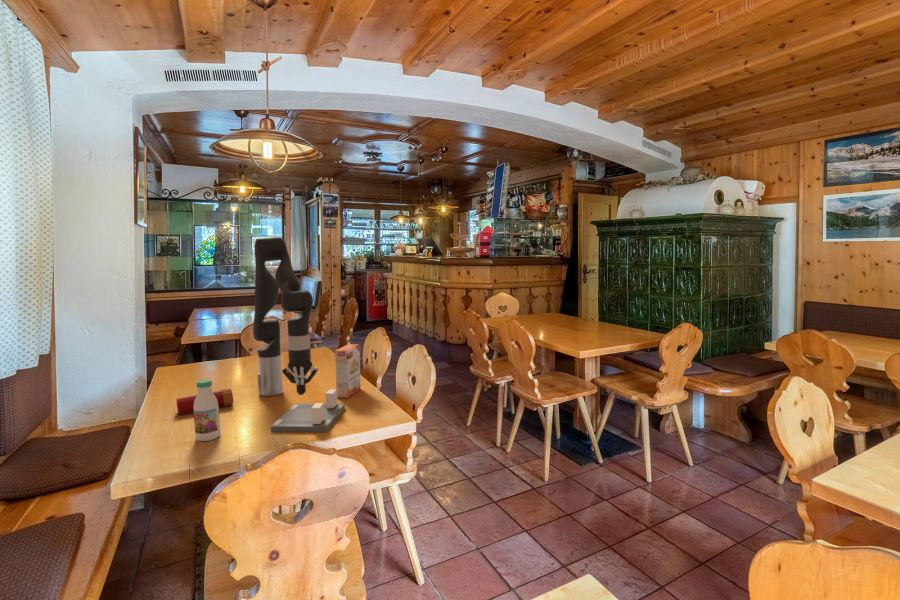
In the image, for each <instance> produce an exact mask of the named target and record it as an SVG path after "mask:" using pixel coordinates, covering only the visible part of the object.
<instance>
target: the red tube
mask: <svg viewBox="0 0 900 600" xmlns="http://www.w3.org/2000/svg"><path fill="white" fill-rule="evenodd" d="M212 392H213V394H214V395H215V397H216V399H217V401H218V407H219V408H221V406H222V407H224V406H226V407H230V406H229V405H231V406H233V405H234V395H233V390H232V388H224V389H221V390H218V391H212ZM196 396H197V394H196V395H190V396H189V395H188V396H185V397H180V398H176V407H177V414H181V415H184V414H183V413H186V414H190V413H189V412H191V413H194V401H195V399H196ZM232 404H233V405H232Z"/></svg>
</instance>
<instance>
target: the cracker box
mask: <svg viewBox="0 0 900 600" xmlns="http://www.w3.org/2000/svg"><path fill="white" fill-rule="evenodd" d="M360 348H361V347H360V344H358V343H352V344H351V343H348V344H346V345H344V346H342V347H340V348H338V349H335V350H334V351H335V352H334V353H335V355H334V357H335V379H336V380H335V383H336V384H335V385H336V388H335V389H336V390H337V398H339V399H340V398H341V399H349V398H350V397H352V396H353V395H354V394H355V392H356V393H357V392H358V391H360V390H361V357H360V356H361V354H360V352H361V350H360Z"/></svg>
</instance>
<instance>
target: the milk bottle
mask: <svg viewBox="0 0 900 600" xmlns="http://www.w3.org/2000/svg"><path fill="white" fill-rule="evenodd" d="M212 384H213V382H212V379H202V380H198V381H196V389H197V394H196V395H197V396H196V399H195V401H194V412H193V420H194V423H193V424H194V433H195V440H196V441H199V442H207V441H214V440H216V439H218V438H219V437H220V436H221V423H220V422H221V420H220V418H221V417H220V410H219V408H220V407H218V401H217V399H216V397H215V395H214V394H213V392H214V391H213V389H212V386H213V385H212ZM217 437H218V438H217ZM215 438H216V439H215Z"/></svg>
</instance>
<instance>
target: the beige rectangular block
mask: <svg viewBox="0 0 900 600" xmlns="http://www.w3.org/2000/svg"><path fill="white" fill-rule="evenodd" d="M314 403H315V402H314ZM311 415H312V424H321V422H322V421H323V420H324V419H325V416H324V402H316V403H315V404H314V405H313V406H312V408H311Z"/></svg>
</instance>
